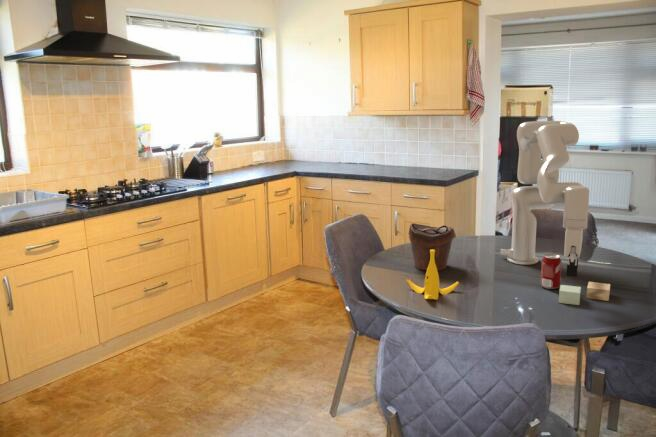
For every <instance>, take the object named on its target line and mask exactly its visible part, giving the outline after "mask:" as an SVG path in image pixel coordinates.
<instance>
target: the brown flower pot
mask: <svg viewBox="0 0 656 437" xmlns="http://www.w3.org/2000/svg"><path fill="white" fill-rule="evenodd" d="M408 228H409V230H408V239H409V241H410V248H411V252H412V258H413V262H414V266H415V268H417V269H419V270H421V271H427V268H428V265H429V263H430V250H435V254H434V260H435V264H436V267H437V271H441V270H445V269H446V268H447V267H448V266H447V265H448V262H449V257H450V252H451V248H452V244H453V239H455V238H456V237H457V235H456V232H455V230H454V228H453V227H451V226H450V227H448V226H447V225H442V226H439V227H437V226H430V225H425V224H418V223H413V222H412V223H410V225H409V227H408Z"/></svg>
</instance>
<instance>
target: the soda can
mask: <svg viewBox="0 0 656 437" xmlns="http://www.w3.org/2000/svg"><path fill="white" fill-rule="evenodd" d="M562 264H563V261H562V259H561V255H559V254H558V253H557V254H556V253H545V254H544V255H543V258H542V259H541V273H540V274H541V275H540V286H541V287H543V288H544V289H546V290H556V289H560V285H561V281H562V279H561V278H562V268H563V267H562Z"/></svg>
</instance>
